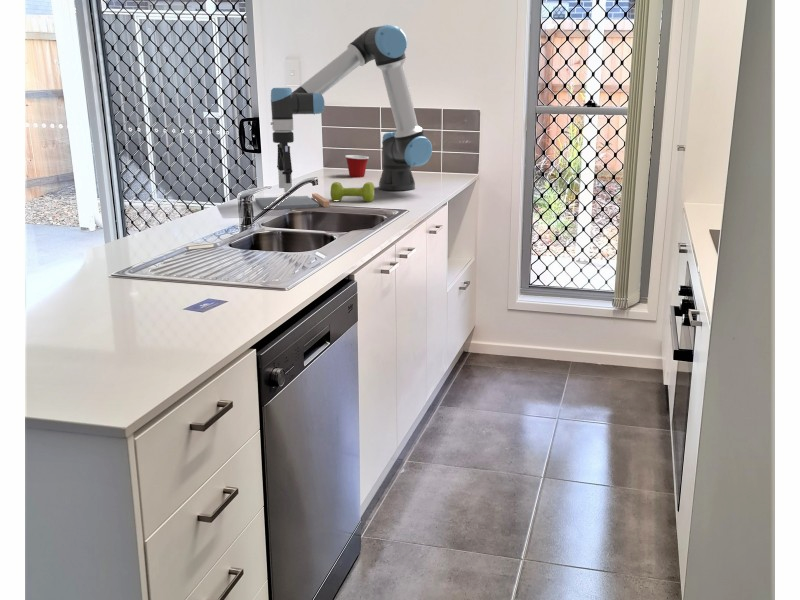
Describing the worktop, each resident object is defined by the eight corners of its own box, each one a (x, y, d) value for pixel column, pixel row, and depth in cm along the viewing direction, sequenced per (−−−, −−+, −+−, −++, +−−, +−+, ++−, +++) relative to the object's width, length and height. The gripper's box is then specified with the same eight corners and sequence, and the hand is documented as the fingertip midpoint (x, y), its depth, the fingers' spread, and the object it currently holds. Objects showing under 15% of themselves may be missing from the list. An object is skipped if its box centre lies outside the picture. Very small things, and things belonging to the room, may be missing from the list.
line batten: (317, 198, 307) (317, 193, 306) (329, 206, 285) (329, 201, 284) (312, 198, 306) (312, 193, 306) (324, 207, 284) (323, 201, 283)
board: (307, 198, 306) (307, 195, 305) (318, 207, 283) (318, 204, 283) (255, 201, 300) (255, 198, 300) (263, 210, 278) (262, 206, 278)
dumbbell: (375, 200, 302) (375, 181, 300) (372, 203, 294) (372, 183, 292) (333, 199, 304) (333, 181, 302) (329, 202, 296) (328, 183, 294)
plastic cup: (363, 183, 353) (362, 156, 350) (341, 183, 357) (341, 156, 354) (373, 181, 363) (372, 155, 359) (352, 180, 367) (351, 154, 364)
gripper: (268, 130, 295) (270, 186, 301) (277, 133, 272) (280, 194, 278) (288, 129, 298) (290, 185, 303) (298, 132, 274) (301, 193, 280)
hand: (285, 190), depth 290 cm, fingers open, 13 cm apart
